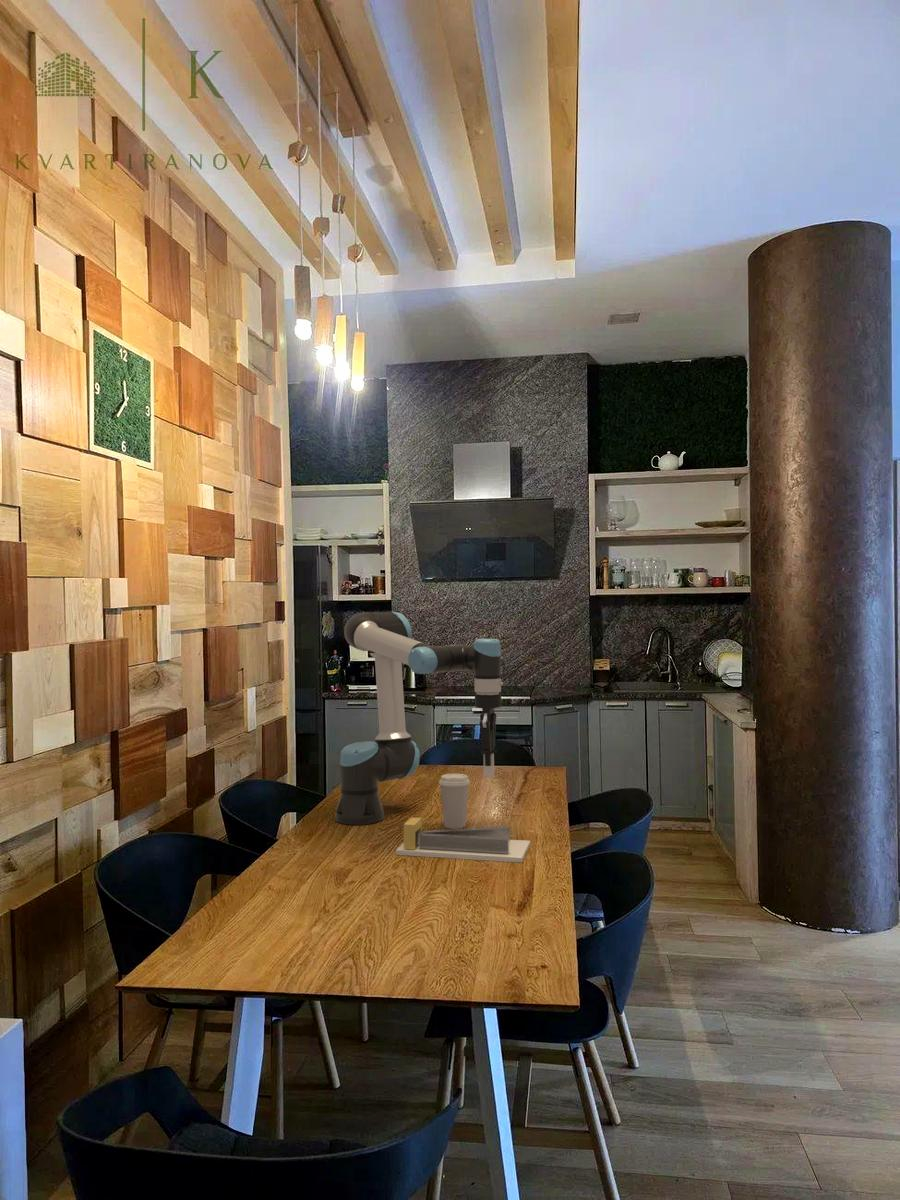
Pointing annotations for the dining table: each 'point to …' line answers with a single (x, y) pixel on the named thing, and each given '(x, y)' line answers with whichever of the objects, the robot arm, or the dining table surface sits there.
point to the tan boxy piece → (411, 832)
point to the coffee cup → (454, 799)
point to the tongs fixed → (462, 842)
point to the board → (472, 853)
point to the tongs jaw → (475, 832)
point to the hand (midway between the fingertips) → (488, 776)
